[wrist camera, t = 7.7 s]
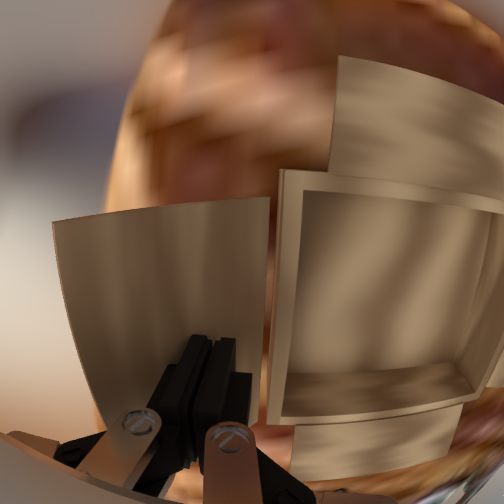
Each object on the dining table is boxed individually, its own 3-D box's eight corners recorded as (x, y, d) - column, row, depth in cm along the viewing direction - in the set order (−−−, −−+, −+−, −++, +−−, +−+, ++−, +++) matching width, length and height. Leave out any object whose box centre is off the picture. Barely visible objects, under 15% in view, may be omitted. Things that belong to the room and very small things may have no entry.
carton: (530, 149, 15) (588, 155, 8) (468, 394, 22) (497, 437, 15) (281, 90, 15) (291, 47, 9) (263, 416, 22) (261, 482, 16)
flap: (270, 197, 12) (53, 224, 6) (257, 421, 15) (139, 491, 10) (262, 196, 12) (51, 222, 6) (252, 417, 15) (135, 486, 10)
